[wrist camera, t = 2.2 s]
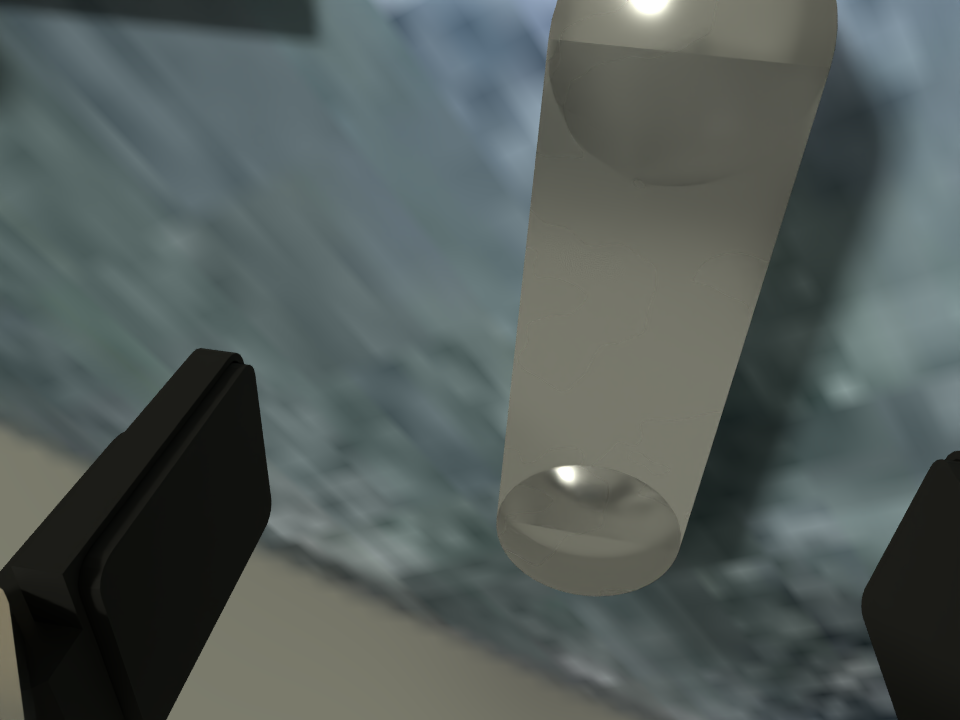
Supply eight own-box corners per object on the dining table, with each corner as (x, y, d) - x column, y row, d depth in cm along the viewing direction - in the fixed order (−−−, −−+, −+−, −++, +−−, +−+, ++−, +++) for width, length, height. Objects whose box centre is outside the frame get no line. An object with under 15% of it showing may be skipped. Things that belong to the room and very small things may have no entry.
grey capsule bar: (824, -107, 12) (881, -100, 9) (656, 503, 20) (660, 609, 17) (581, -126, 13) (565, -124, 10) (510, 479, 20) (490, 578, 18)
